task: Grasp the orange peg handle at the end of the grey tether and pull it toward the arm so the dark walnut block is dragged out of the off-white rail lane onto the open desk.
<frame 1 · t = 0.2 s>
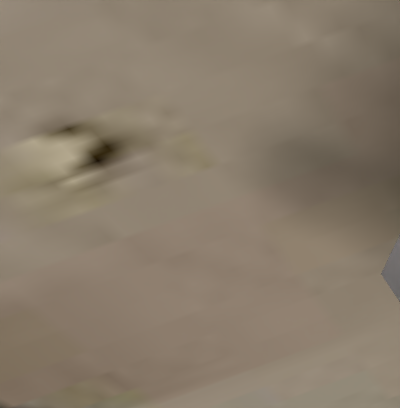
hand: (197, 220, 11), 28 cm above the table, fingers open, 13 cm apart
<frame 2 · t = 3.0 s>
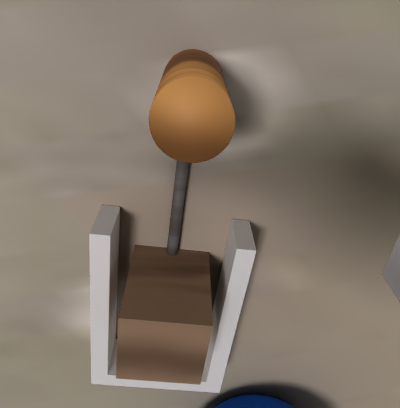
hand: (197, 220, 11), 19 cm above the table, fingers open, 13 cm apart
tethered block: (168, 276, 37), on the table
lane: (167, 284, 38), on the table
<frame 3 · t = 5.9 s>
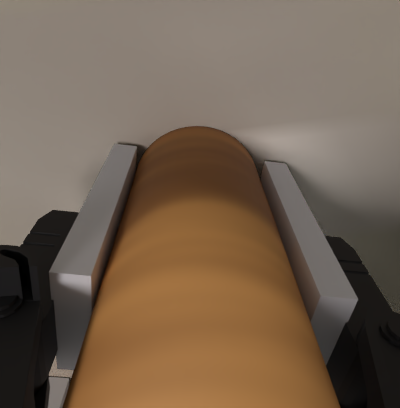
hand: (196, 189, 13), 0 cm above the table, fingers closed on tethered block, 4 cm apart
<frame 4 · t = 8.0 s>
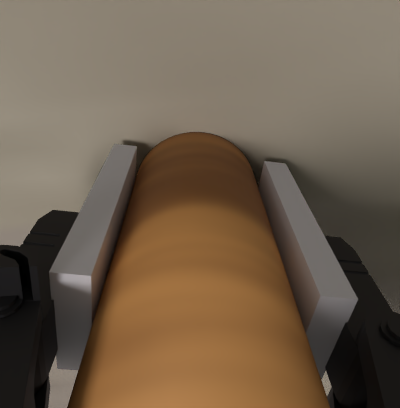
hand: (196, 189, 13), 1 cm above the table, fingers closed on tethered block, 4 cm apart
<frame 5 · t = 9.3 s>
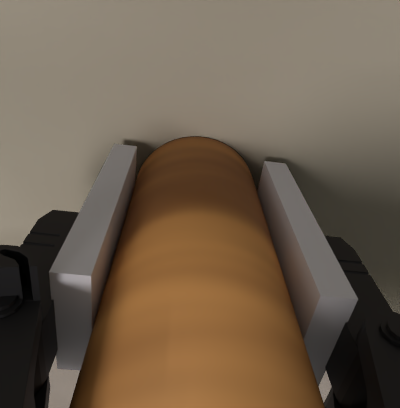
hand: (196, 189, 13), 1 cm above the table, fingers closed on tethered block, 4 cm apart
when the fingers open (1 cm above the table, at t = 9.9 s): tethered block stays where it is, on the table.
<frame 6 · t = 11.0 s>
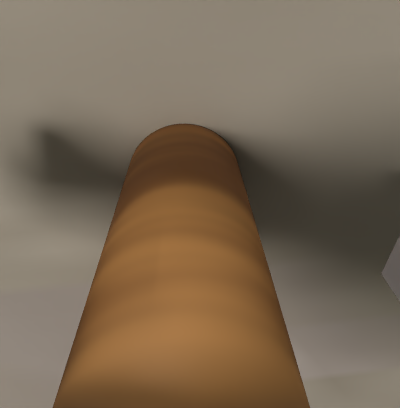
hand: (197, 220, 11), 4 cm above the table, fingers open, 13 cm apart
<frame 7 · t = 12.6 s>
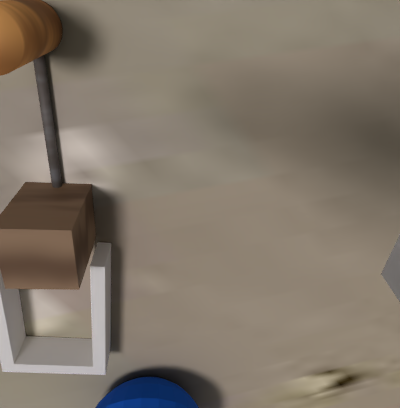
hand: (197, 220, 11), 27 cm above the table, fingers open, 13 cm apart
tethered block: (62, 210, 43), on the table
lane: (59, 292, 49), on the table
vase: (149, 394, 61), on the table
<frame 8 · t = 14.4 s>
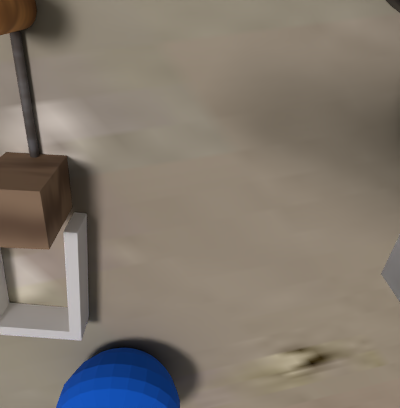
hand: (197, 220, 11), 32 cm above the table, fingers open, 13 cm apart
tethered block: (40, 180, 46), on the table
lane: (39, 260, 52), on the table
vase: (127, 366, 64), on the table
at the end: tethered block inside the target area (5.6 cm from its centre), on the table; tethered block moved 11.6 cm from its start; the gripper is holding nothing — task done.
